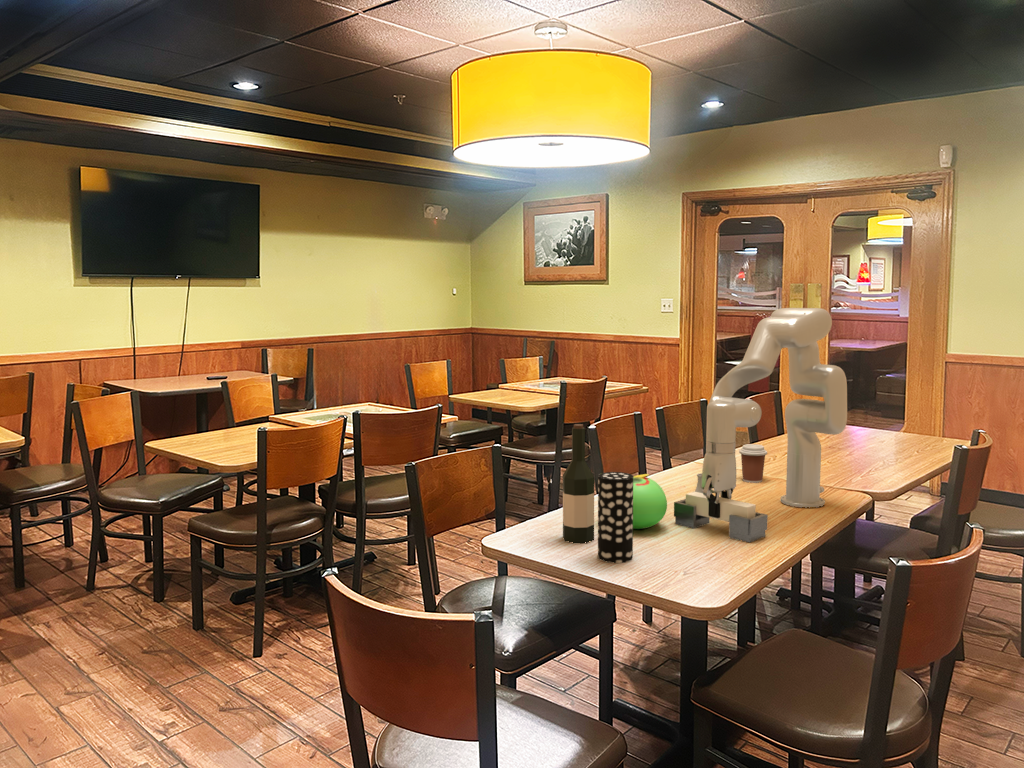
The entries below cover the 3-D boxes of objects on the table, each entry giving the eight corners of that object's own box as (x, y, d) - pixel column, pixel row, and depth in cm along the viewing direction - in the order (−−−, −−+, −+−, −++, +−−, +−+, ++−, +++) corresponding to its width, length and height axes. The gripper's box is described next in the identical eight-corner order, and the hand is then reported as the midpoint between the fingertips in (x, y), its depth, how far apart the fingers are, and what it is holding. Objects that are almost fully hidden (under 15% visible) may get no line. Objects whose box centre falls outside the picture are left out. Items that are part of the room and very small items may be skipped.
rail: (694, 509, 216) (694, 491, 215) (755, 523, 201) (755, 504, 201) (685, 511, 213) (685, 494, 212) (746, 526, 199) (747, 507, 198)
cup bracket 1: (689, 518, 219) (690, 497, 218) (709, 523, 214) (709, 501, 213) (673, 523, 214) (674, 502, 213) (693, 528, 209) (693, 506, 208)
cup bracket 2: (744, 531, 206) (745, 509, 205) (766, 537, 201) (767, 514, 200) (728, 537, 201) (729, 515, 200) (751, 543, 196) (751, 520, 195)
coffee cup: (739, 476, 269) (740, 442, 268) (767, 478, 266) (768, 444, 265) (737, 482, 261) (738, 447, 259) (765, 484, 257) (766, 449, 256)
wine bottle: (597, 535, 204) (598, 423, 200) (590, 545, 196) (590, 428, 192) (567, 532, 206) (566, 421, 203) (558, 542, 198) (558, 426, 195)
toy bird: (676, 534, 204) (676, 480, 202) (614, 538, 201) (614, 483, 200) (652, 516, 222) (653, 465, 220) (595, 519, 219) (595, 468, 217)
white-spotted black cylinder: (594, 552, 190) (595, 472, 188) (628, 551, 191) (628, 471, 189) (601, 563, 182) (601, 480, 180) (636, 562, 183) (637, 479, 181)
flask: (714, 511, 226) (715, 477, 225) (689, 510, 228) (690, 476, 226) (713, 504, 233) (714, 472, 232) (689, 503, 235) (689, 471, 234)
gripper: (726, 442, 213) (724, 506, 215) (690, 450, 202) (688, 518, 204) (750, 445, 208) (748, 512, 210) (714, 454, 197) (713, 524, 199)
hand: (719, 514), depth 207 cm, fingers closed on rail, 4 cm apart
